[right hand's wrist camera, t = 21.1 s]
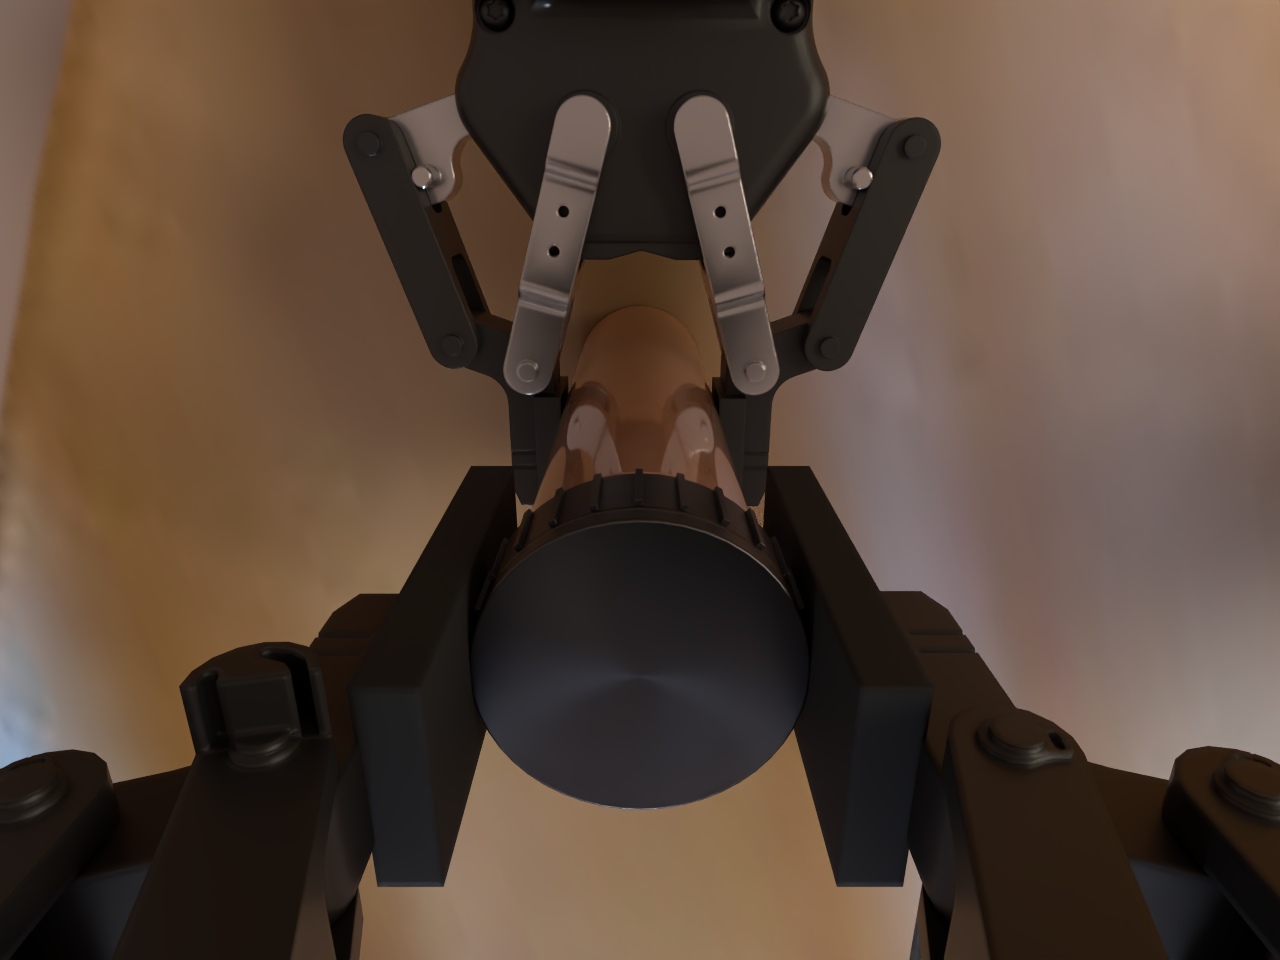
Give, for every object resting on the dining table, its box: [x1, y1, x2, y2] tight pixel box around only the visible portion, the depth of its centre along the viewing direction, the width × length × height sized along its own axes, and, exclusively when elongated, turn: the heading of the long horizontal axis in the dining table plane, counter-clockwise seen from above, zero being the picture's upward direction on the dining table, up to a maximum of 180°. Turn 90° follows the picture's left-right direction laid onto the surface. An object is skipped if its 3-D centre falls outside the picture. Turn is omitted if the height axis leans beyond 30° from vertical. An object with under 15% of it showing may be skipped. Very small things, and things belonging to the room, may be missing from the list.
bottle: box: [532, 306, 748, 512], centre depth 19 cm, size 4×4×17 cm
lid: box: [469, 469, 811, 810], centre depth 11 cm, size 5×5×2 cm
